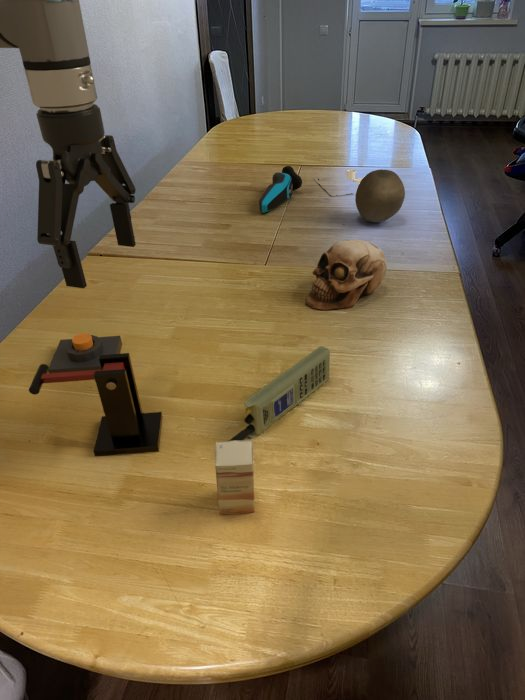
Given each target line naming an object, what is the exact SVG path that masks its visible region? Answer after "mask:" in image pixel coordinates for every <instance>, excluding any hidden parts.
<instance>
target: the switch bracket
mask: <svg viewBox="0 0 525 700" xmlns="http://www.w3.org/2000/svg"><path fill="white" fill-rule="evenodd" d="M99 362H100V365H101V369H103V367H104V364H105V363H117V362H123V363H124V368H125V369H119V370H106V371H95V373H94V378H95V380H94V381H95V386H96V389H97V392H98V396H99V399H100V402H101V406H102V410H103V414H104V415H102V416H101V419H100V423H99V427H98V431H97V433H96V438H95V442H94V447H93V449H92V451H93V456H94V457H107V456H118V455H128V454H142V453H154V452H159V451H160V443H161V434H162V427H163V426H162V425H163V412H162V411H153V412H143V409H142V405H141V400H140V395H139V391H138V386H137V383H136V377H135V374H134V369H133V364H132V360H131V356H130V353H129V352H123V353H120V354H108V355H100V356H99Z"/></svg>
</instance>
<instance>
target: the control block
mask: <svg viewBox="0 0 525 700" xmlns="http://www.w3.org/2000/svg"><path fill="white" fill-rule="evenodd" d="M90 335H91V337H92V341H93V346H92V347H91V348H89V349H87V350H82V351H77V350H75V349H74V346H73V342H72V339H73V338H67V339H60V340H59V342H58V345H57V347H56V349H55V352H54V354H53V356H52V359H51V361H50V363H49V365H48V367H49V370H48V373H62V372H75V371H89V370H102V369H101V365H100V362H99V356H100V355H108V354H121V351H122V347H123V341H122V336H121V335H110V336H109V335H108V336H107V335H106V336H98V335H93V334H90Z"/></svg>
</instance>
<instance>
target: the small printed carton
mask: <svg viewBox="0 0 525 700" xmlns="http://www.w3.org/2000/svg"><path fill="white" fill-rule="evenodd" d="M214 446H215V447H214V466H215V467H214V468H215V479H216V491H217V502H218V513H219V515H239V514H240V515H241V514H250V513H251V514H252V513H255V465H254V443H253V440H252V439H249V440H246V439H244V440H238V441H237V440H236V441H229V440H227V441H226V440H225V441H216V442H215V445H214Z"/></svg>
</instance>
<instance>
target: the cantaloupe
mask: <svg viewBox="0 0 525 700" xmlns="http://www.w3.org/2000/svg"><path fill="white" fill-rule="evenodd" d="M405 198H406V190H405V185H404V182H403V181H402V179H401V178H400V175H398V174H397V173H396V172H395V171H392V170H390V169H382V168H381V169H376V170H372V171H370V172H369V173H367V174H366V176H365V177H364V178H363V179H362V180H361V182H360V184H359V185H358V188H357V191H356V194H355V199H354V201H355V207H356V209H357V211H358V214H359V215H360V216H361V218H362V219H363V220H365V221H367V222H370V223H382V222H384V221H387V220H389V219H390V218H392V217H393V216H395V215H396V214H397V213H398V212H399V211H400V210H401V208H402V206H403V204H404V201H405Z"/></svg>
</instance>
